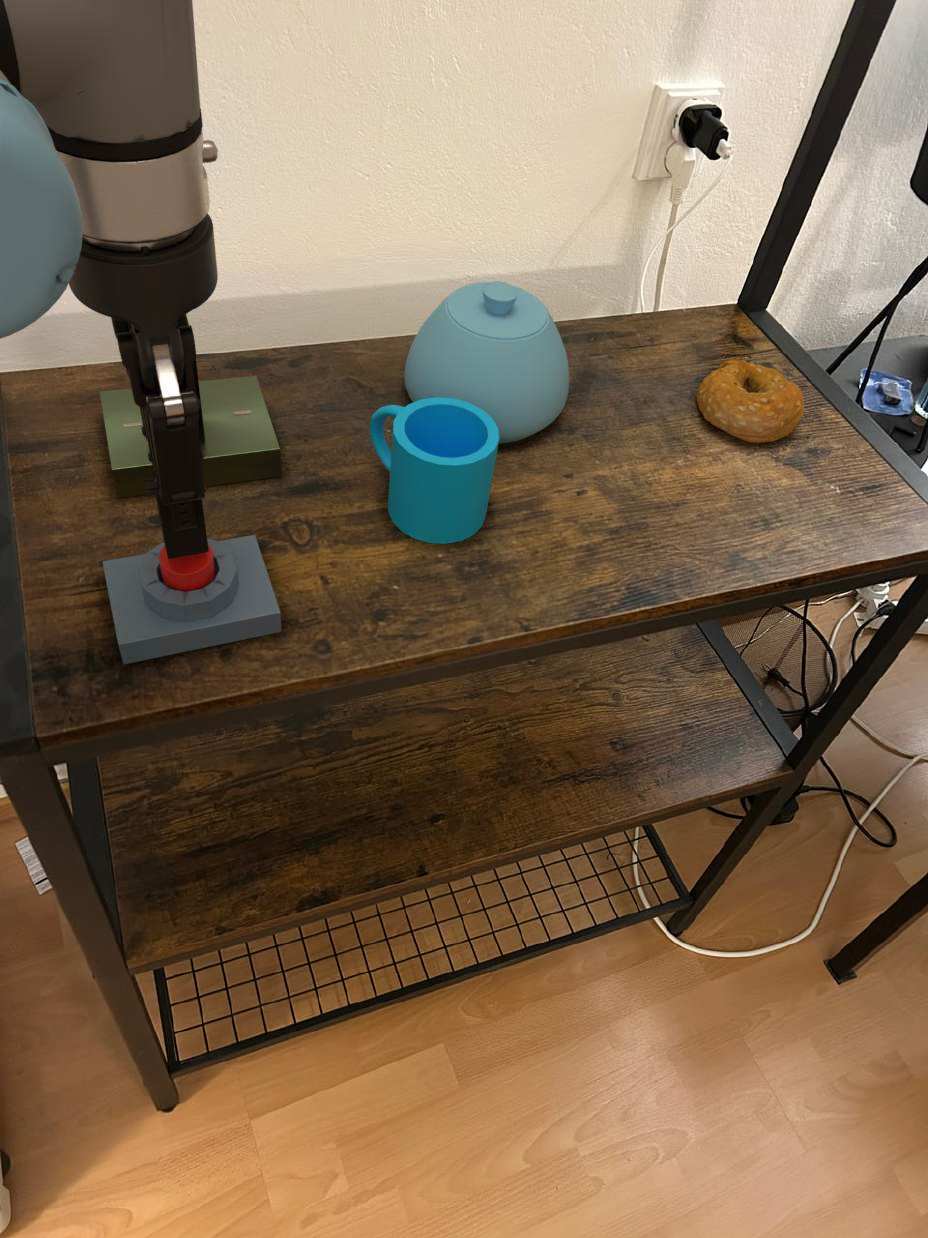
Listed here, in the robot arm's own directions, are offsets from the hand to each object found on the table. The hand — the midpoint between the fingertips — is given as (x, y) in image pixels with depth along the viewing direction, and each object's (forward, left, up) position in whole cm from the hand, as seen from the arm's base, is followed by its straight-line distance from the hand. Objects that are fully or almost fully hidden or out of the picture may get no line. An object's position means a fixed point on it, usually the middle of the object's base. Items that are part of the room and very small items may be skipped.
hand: (186, 547), depth 66 cm
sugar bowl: (+35, +2, -6) cm, 36 cm away
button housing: (0, 0, -6) cm, 6 cm away
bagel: (+53, -16, -6) cm, 56 cm away
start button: (0, 0, -2) cm, 2 cm away
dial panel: (+11, +14, -6) cm, 19 cm away
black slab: (+11, +14, -3) cm, 18 cm away
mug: (+21, -3, -6) cm, 22 cm away
